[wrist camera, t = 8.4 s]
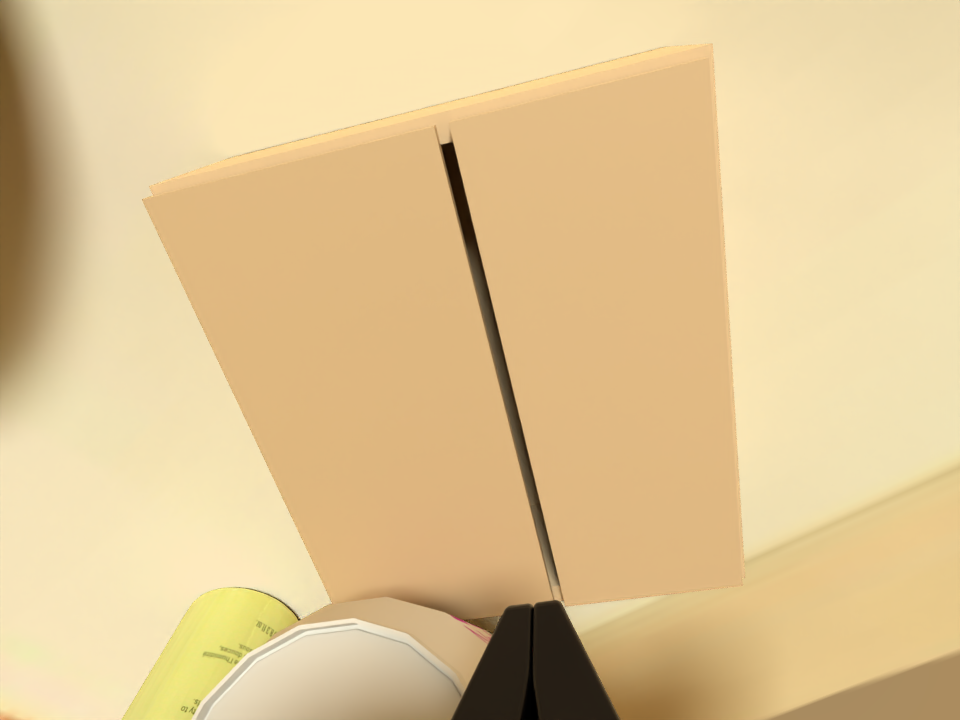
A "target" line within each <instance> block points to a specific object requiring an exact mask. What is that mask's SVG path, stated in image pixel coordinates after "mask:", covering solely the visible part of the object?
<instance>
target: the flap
mask: <svg viewBox="0 0 960 720" xmlns="http://www.w3.org/2000/svg"><path fill="white" fill-rule="evenodd" d="M449 126H450V131H451V135H452V139H453V143H454V147H455V151H456V155H457V160H458V164H459V168H460V172H461V176H462V180H463V184H464V189H465V193H466V197H467V201H468V205H469V209H470V213H471V218H472V222H473V226H474V230H475V234H476V238H477V242H478V247H479V251H480V255H481V259H482V263H483V267H484V271H485V276H486V280H487V284H488V288H489V292H490V296H491V300H492V305H493V309H494V313H495V317H496V321H497V325H498V330H499V334H500V338H501V342H502V346H503V350H504V354H505V359H506V363H507V367H508V371H509V375H510V379H511V383H512V388H513V392H514V396H515V400H516V404H517V408H518V412H519V417H520V421H521V425H522V429H523V433H524V437H525V441H526V446H527V450H528V454H529V458H530V462H531V466H532V470H533V475H534V479H535V483H536V487H537V491H538V495H539V499H540V504H541V508H542V512H543V516H544V520H545V524H546V528H547V533H548V537H549V541H550V545H551V549H552V553H553V557H554V562H555V566H556V570H557V574H558V578H559V582H560V586H561V591H562V595H563V599H564V603H565V607H566V606H574V605H583V604H591V603H600V602H608V601H617V600H626V599H634V598H643V597H651V596H660V595H668V594H677V593H685V592H694V591H702V590H711V589H719V588H728V587H737V586H743V584H742V568H741V552H740V537H739V521H738V505H737V490H736V474H735V458H734V443H733V427H732V411H731V396H730V380H729V364H728V349H727V333H726V317H725V301H724V286H723V270H722V254H721V239H720V223H719V207H718V192H717V176H716V160H715V145H714V129H713V113H712V98H711V82H710V66H709V58H701V59H697V60H693V61H689V62H685V63H681V64H677V65H673V66H669V67H665V68H661V69H657V70H653V71H649V72H645V73H641V74H637V75H633V76H629V77H625V78H621V79H617V80H613V81H609V82H605V83H601V84H597V85H593V86H589V87H585V88H581V89H577V90H573V91H569V92H565V93H561V94H557V95H553V96H549V97H545V98H541V99H537V100H533V101H529V102H525V103H521V104H517V105H513V106H509V107H505V108H501V109H497V110H493V111H489V112H485V113H481V114H477V115H473V116H469V117H465V118H461V119H457V120H453V121H450V122H449Z"/></svg>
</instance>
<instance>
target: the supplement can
mask: <svg viewBox="0 0 960 720" xmlns="http://www.w3.org/2000/svg"><path fill="white" fill-rule="evenodd" d="M492 634H493V633H491V632H488V631H486V630H484V629H482V628H479V627H477V626H475V625H472V624H470V623H468V622H465V621H463V620H461V619H459V618H456V617H454V616H452V615H449V614H447V613H445V612H442V611H438V610H434V609H431V608H427V607H423V606H420V605H416V604H412V603H409V602H405V601H401V600H398V599H394V598H390V597H379V598H372V599H365V600H358V601H350V602H343V603H336V604H329V605H327V606H325V607H323V608H321V609H320V610H318V611H316V612H314V613H312V614H310V615H309V616H307V617H305V618H303V619H301V620H299V621H298V622H296V623H294V624H292V625H290V626H288V627H287V628H285V629H283V630H281V631H279V632H277V633H276V634H274V635H273V636H272V637H271V638H270V639H269V640H268V641H267V643H266V644H264V645H262V646H260V647H258V648H257V649H255V650H253V651H251V652H249V653H247V654H246V655H245V656H244V657H243V658H242V660H241V661H240V662H239V663H238V664H237V665H236V666H235V667H234V668H233V669H232V670H231V671H230V672H229V673H228V674H227V675H226V676H225V677H224V678H223V679H222V680H221V681H220V682H219V683H218V685H217V686H216V687H215V688H214V689H213V690H212V691H211V692H210V693H209V694H208V695H207V696H206V697H205V698H204V699H203V700H202V701H201V703H200V705H199V707H198V708H197V710H196V712H195V714H194V716H193V717H192V719H191V720H451V718H452V716H453V714H454V712H455V710H456V708H457V706H458V704H459V702H460V700H461V698H462V696H463V694H464V692H465V690H466V688H467V685H468V683H469V681H470V679H471V677H472V675H473V673H474V671H475V669H476V667H477V665H478V663H479V661H480V659H481V657H482V655H483V653H484V651H485V649H486V647H487V645H488V643H489V640H490V638H491V636H492Z"/></svg>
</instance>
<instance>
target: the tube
mask: <svg viewBox="0 0 960 720" xmlns="http://www.w3.org/2000/svg"><path fill="white" fill-rule="evenodd" d="M296 622H298V619H297V618H296V616H295V615H294V613H293V612H292V611H290V610H289V609H288V608H287V607H286V606H285V605H284V604H282V603H281V602H280V601H278V600H276V599H275V598H273V597H271V596H268V595H266V594H264V593H261V592H257V591H254V590H250V589H245V588H233V587H231V588H220V589H215V590H212V591H209V592H207V593H205V594H203V595H201V596H200V597H199V598H197V599H196V600H195V601H194V602H193V603H192V605H191V606H190V608H189V609H188V611H187V612H186V614H185V615H184V617H183V619H182V620H181V622H180V624H179V625H178V627H177V629H176V630H175V632H174V633H173V635H172V637H171V638H170V640H169V642H168V643H167V645H166V647H165V648H164V650H163V652H162V653H161V655H160V657H159V658H158V660H157V662H156V663H155V665H154V667H153V668H152V670H151V672H150V673H149V675H148V677H147V678H146V680H145V682H144V683H143V685H142V687H141V688H140V690H139V692H138V693H137V695H136V697H135V698H134V700H133V702H132V703H131V705H130V707H129V708H128V710H127V712H126V713H125V715H124V717H123V718H122V720H191V719H192V717H193V716H194V714H195V712H196V710H197V708H198V707H199V705H200V703H201V701H202V700H203V699H204V698H205V697H206V696H207V695H208V694H209V693H210V692H211V691H212V690H213V689H214V688H215V687H216V686H217V685H218V683H219V682H220V681H221V680H222V679H223V678H224V677H225V676H226V675H227V674H228V673H229V672H230V671H231V670H232V669H233V668H234V667H235V666H236V665H237V664H238V663H239V662H240V661H241V660H242V658H243V657H244V656H245V655H246V654H247V653H249V652H251V651H253V650H255V649H257V648H258V647H260V646H262V645H264V644H266V643H267V641H268V640H269V639H270V638H271V637H272V636H273V635H274V634H276V633H277V632H279V631H281V630H283V629H285V628H287V627H288V626H290V625H292V624H294V623H296Z"/></svg>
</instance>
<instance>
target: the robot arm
mask: <svg viewBox="0 0 960 720" xmlns="http://www.w3.org/2000/svg"><path fill="white" fill-rule="evenodd" d="M451 720H620V718H619V716H618V714H617V712H616V710H615V708H614V706H613V704H612V702H611V700H610V698H609V696H608V694H607V692H606V690H605V688H604V686H603V684H602V682H601V680H600V678H599V676H598V674H597V672H596V670H595V668H594V666H593V664H592V662H591V661H590V659H589V657H588V655H587V653H586V651H585V649H584V647H583V645H582V643H581V641H580V639H579V637H578V635H577V633H576V631H575V629H574V627H573V625H572V623H571V621H570V619H569V617H568V615H567V613H566V611H565V609H564V607H563V605H562V604H561V602H560V601H558V600H551V601H543V602H537V603H535V604H534V607H533V605H532V604H529V603H526V604H518V605H511V606H508V607H507V608H506V609H505V610H504V612H503V614H502V616H501V618H500V620H499V622H498V624H497V626H496V628H495V630H494V632H493V634H492V636H491V638H490V640H489V643H488V645H487V647H486V649H485V651H484V653H483V655H482V657H481V659H480V661H479V663H478V665H477V667H476V669H475V671H474V673H473V675H472V677H471V679H470V681H469V683H468V685H467V688H466V690H465V692H464V694H463V696H462V698H461V700H460V702H459V704H458V706H457V708H456V710H455V712H454V714H453V716H452V718H451Z"/></svg>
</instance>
